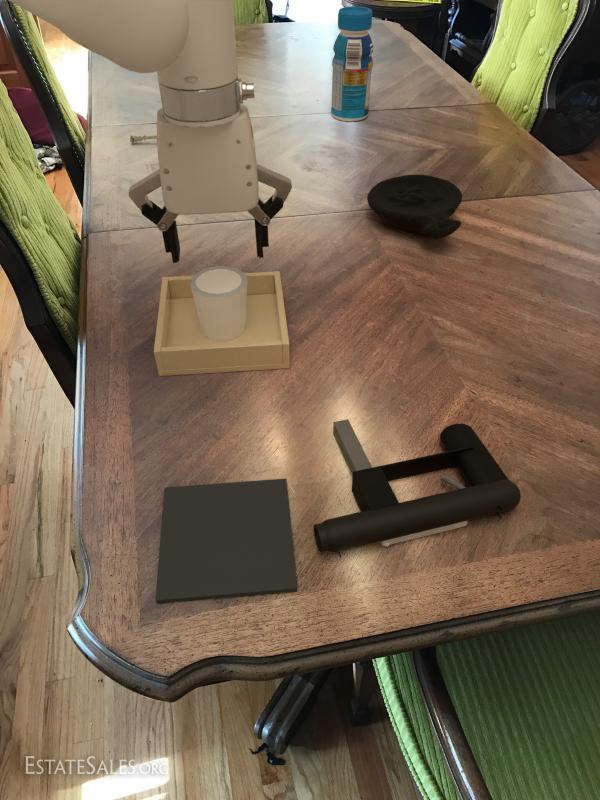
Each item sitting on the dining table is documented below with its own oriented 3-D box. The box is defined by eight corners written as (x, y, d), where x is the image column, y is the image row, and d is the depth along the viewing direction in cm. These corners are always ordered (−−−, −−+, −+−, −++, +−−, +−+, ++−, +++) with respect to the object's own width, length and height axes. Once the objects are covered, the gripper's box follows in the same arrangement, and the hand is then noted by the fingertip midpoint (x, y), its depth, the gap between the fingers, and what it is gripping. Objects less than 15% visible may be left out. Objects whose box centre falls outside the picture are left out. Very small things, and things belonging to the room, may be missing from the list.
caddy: (158, 376, 73) (153, 351, 70) (166, 300, 84) (162, 276, 81) (289, 368, 74) (289, 343, 71) (280, 294, 85) (279, 271, 82)
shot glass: (209, 350, 75) (202, 303, 70) (188, 320, 79) (181, 274, 74) (259, 333, 77) (257, 286, 73) (236, 306, 82) (232, 259, 77)
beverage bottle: (322, 116, 134) (325, 10, 120) (346, 106, 139) (352, 2, 125) (352, 125, 130) (359, 17, 116) (376, 115, 135) (385, 9, 121)
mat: (156, 603, 52) (155, 600, 52) (165, 491, 61) (164, 487, 60) (297, 591, 53) (297, 588, 52) (286, 481, 61) (286, 478, 61)
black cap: (391, 263, 91) (395, 232, 88) (354, 203, 105) (356, 175, 101) (484, 252, 93) (491, 222, 90) (436, 195, 107) (441, 167, 104)
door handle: (279, 427, 63) (325, 552, 52) (456, 392, 67) (536, 502, 56) (280, 449, 66) (325, 575, 54) (451, 414, 70) (528, 524, 58)
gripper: (286, 81, 62) (289, 233, 74) (114, 88, 61) (145, 241, 73) (293, 108, 57) (295, 267, 69) (104, 116, 56) (140, 276, 68)
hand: (218, 254), depth 71 cm, fingers open, 9 cm apart
